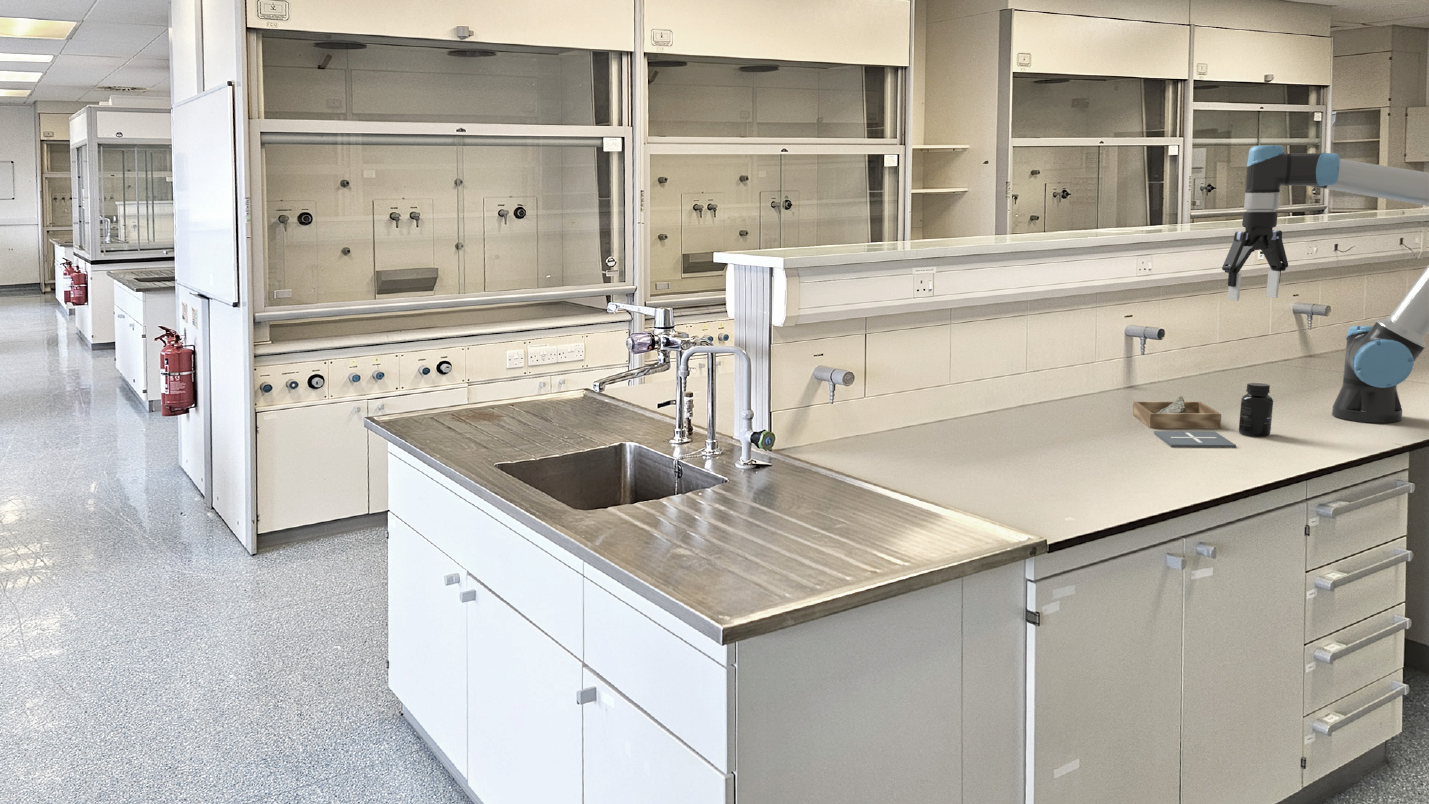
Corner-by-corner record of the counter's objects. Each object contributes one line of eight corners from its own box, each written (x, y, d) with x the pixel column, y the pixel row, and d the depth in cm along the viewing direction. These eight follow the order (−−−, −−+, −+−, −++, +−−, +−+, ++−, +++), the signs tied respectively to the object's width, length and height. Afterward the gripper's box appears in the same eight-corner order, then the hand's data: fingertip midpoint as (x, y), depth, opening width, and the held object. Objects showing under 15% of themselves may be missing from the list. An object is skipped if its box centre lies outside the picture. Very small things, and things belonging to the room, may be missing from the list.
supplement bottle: (1274, 437, 256) (1278, 387, 254) (1242, 437, 258) (1246, 386, 255) (1265, 431, 263) (1269, 382, 261) (1235, 430, 264) (1238, 381, 262)
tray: (1199, 415, 282) (1200, 401, 281) (1220, 428, 267) (1221, 414, 266) (1132, 414, 284) (1133, 401, 283) (1149, 427, 269) (1150, 413, 268)
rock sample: (1143, 401, 282) (1171, 381, 277) (1163, 418, 284) (1192, 399, 279) (1147, 425, 274) (1176, 406, 269) (1167, 443, 276) (1197, 424, 271)
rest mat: (1214, 433, 261) (1215, 430, 261) (1235, 447, 248) (1236, 444, 247) (1153, 433, 263) (1153, 430, 263) (1171, 447, 249) (1171, 444, 249)
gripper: (1282, 209, 274) (1274, 294, 278) (1210, 211, 263) (1203, 299, 268) (1309, 210, 267) (1301, 297, 271) (1237, 212, 257) (1229, 302, 261)
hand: (1252, 298), depth 269 cm, fingers open, 13 cm apart
